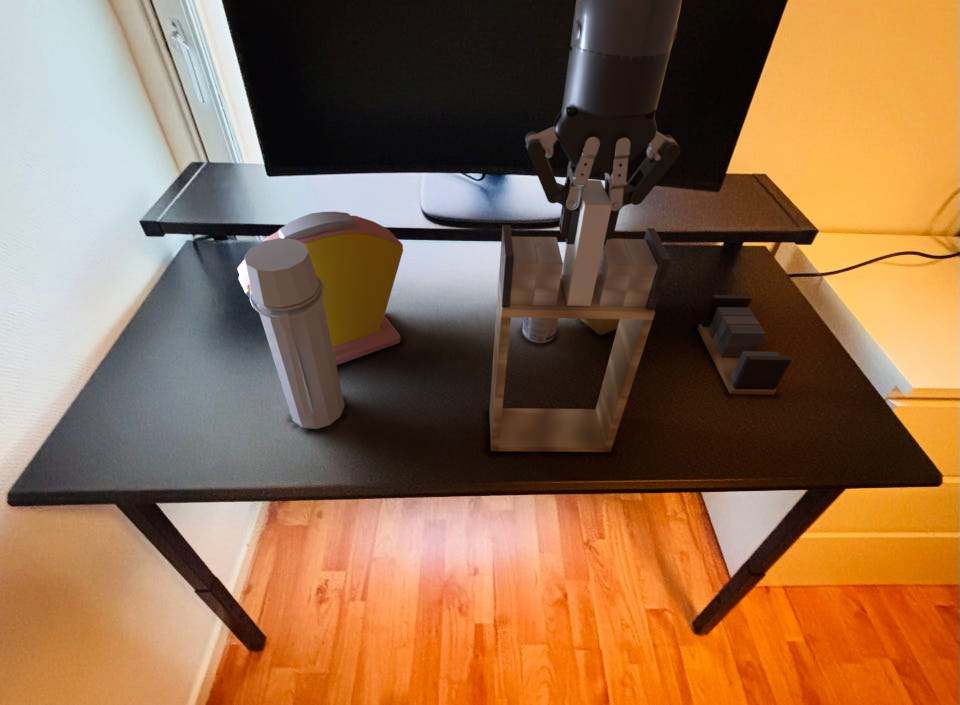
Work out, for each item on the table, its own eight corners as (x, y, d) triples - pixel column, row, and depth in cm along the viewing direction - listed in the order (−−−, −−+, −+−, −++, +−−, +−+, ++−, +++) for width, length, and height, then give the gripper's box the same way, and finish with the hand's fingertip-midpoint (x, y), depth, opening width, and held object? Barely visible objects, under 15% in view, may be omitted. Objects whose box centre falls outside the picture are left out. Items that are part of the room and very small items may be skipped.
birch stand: (601, 413, 74) (637, 283, 59) (610, 452, 69) (653, 320, 55) (489, 412, 74) (498, 280, 59) (490, 451, 69) (501, 317, 54)
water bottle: (291, 395, 75) (243, 237, 58) (348, 389, 76) (318, 233, 59) (284, 447, 68) (228, 286, 51) (347, 440, 69) (312, 281, 52)
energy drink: (555, 324, 88) (565, 263, 80) (554, 345, 85) (565, 283, 76) (523, 321, 89) (530, 259, 81) (521, 342, 85) (528, 279, 77)
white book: (582, 277, 58) (601, 180, 51) (590, 306, 54) (612, 205, 47) (560, 276, 58) (575, 179, 50) (567, 305, 54) (584, 205, 47)
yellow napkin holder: (392, 307, 90) (380, 187, 76) (417, 338, 85) (409, 214, 70) (260, 350, 81) (218, 223, 67) (277, 388, 76) (236, 257, 61)
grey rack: (774, 394, 78) (794, 359, 73) (729, 394, 78) (747, 359, 73) (736, 329, 89) (751, 295, 85) (697, 328, 89) (710, 294, 84)
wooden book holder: (637, 283, 59) (653, 226, 55) (653, 320, 55) (672, 261, 50) (498, 280, 59) (502, 223, 54) (501, 317, 54) (505, 258, 49)
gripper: (696, 31, 43) (645, 223, 55) (525, 25, 43) (510, 220, 54) (729, 54, 38) (665, 263, 49) (534, 48, 37) (515, 260, 49)
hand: (584, 239), depth 52 cm, fingers closed on white book, 2 cm apart
